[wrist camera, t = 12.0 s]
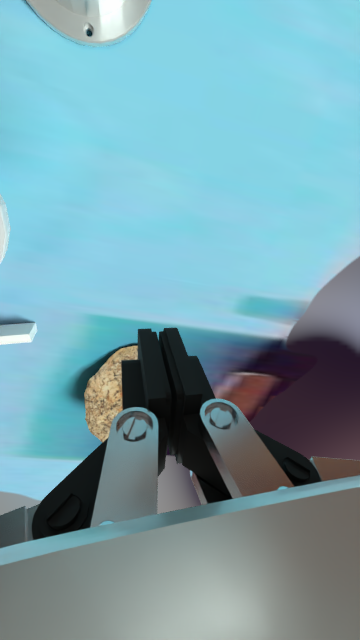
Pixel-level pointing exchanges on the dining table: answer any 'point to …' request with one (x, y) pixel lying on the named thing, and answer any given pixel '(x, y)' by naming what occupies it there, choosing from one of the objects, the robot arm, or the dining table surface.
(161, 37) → the dining table surface
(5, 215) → the lid
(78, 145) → the dining table surface
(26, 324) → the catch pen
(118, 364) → the beige piece
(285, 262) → the dining table surface
